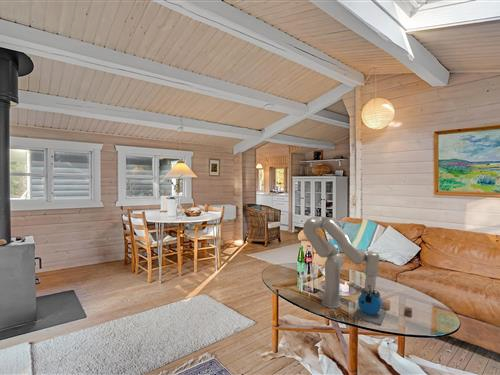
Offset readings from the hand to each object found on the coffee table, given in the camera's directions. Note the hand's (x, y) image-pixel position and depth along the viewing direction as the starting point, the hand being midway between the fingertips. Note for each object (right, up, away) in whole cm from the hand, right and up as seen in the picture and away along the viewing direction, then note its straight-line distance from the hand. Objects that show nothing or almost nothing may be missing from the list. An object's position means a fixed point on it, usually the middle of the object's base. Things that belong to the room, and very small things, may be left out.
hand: (369, 299), depth 184 cm
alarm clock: (0, -9, 0) cm, 9 cm away
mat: (0, -9, -1) cm, 9 cm away
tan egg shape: (+14, -9, +9) cm, 19 cm away
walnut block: (+24, -10, +1) cm, 26 cm away
